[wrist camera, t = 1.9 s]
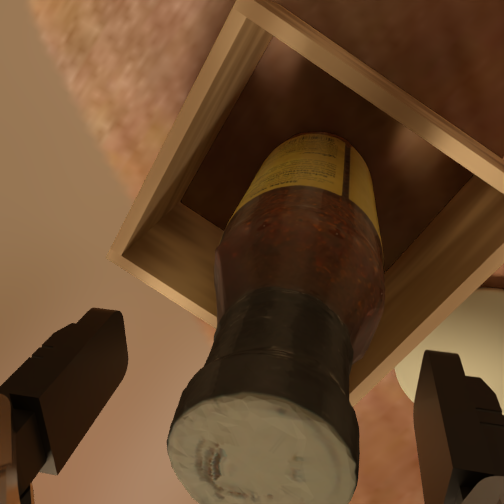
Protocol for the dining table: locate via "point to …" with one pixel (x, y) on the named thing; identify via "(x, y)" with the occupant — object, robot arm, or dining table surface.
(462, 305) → the saucer
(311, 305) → the sauce bottle
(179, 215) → the caddy
